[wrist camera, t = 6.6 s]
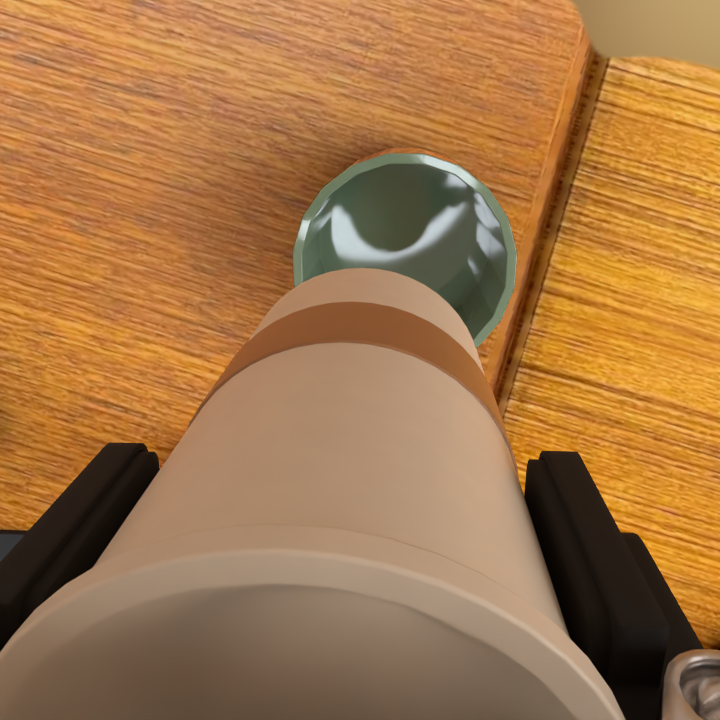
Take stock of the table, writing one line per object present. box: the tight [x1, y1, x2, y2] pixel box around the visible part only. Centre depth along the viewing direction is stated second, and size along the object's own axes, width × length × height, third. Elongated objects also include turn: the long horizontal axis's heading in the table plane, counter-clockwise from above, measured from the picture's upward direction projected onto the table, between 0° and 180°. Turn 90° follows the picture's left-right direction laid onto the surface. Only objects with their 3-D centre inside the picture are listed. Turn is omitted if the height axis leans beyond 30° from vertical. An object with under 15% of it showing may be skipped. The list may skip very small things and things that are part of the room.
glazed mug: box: [293, 148, 517, 348], centre depth 31 cm, size 12×9×6 cm
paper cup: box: [0, 268, 625, 720], centre depth 12 cm, size 6×6×12 cm
